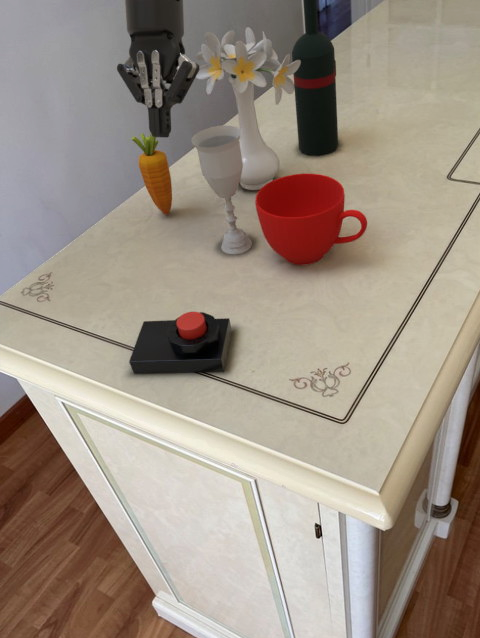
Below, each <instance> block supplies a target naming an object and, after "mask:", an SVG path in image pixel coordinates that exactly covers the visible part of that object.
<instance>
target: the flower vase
mask: <svg viewBox="0 0 480 638" xmlns="http://www.w3.org/2000/svg"><path fill="white" fill-rule="evenodd" d="M244 33H245V42H246V44H245V43H244V42H243V41H242V40H237V41H236V42H235V45H233V44H232V43H233V41H234V39H235V35H236V33H235V31H234V30H232V29H231V30H229V31H227V32H226V33H225V34H224V36H223V37H222V39H221V41H220V40H219V38H218V37H217V35H215V34H214V33H213V32H212V31H211V32H206V33H205V34H204V41H205V43H202V44H201V45H200V46H201V47H200V51H199V52H198V53H197V54H196V55H195V59H196V60H197V61H204V62H205V63H206V64H203V65H201V66H199V67H200V69H199V72H198V74H197V75H196V77H195V79H198V80H206V79H207V81H206V86H205V89H206V93H207V94H206V95H211V94H212V92H213V90H214V87H215V86H216V84H217V81H218V80H219V81H222V80H223V79H224V76H225V72H226V73H227V74H229V75H228V81H229V83H230V85H231V87H232V90H233V93H234V98H235V102H236V107H237V114H238V123H239V124H238V125H239V129H240V130H241V135H240V139H239V143H240V150H241V156H242V163H243V168H242V174H241V179H240V182H239V185H240V187H242V188H243V189H245V190H247V191H259V190H260V189H261V188H262V187H263V186H265V185H266V184H268V183H269V182H271V181H273V180H274V177H275V176H276V175H277V174H278V172H279V170H280V165H281V164H280V162H281V161H280V158H279V156H278V154H277V153H276V151H275V150H274V149H272V148H271V147H270V146H269V145H267V144H266V142H265V141H264V138H263V137H262V135H261V132H260V128H259V123H258V117H257V113H256V106H255V94H254V93H255V92H254V91H255V90H254V89H255V86H256V87H257V88H266V87H267V85H268V82H267V79H266V77H264V75H263V74H262V73H260V72H265V73H268V74H270V75H272V76H273V79H272V82H271V83H272V87H273V88H274V98H275V101H274V102H275V105H277V106H278V105H280V103H281V101H282V96H283V91H284V92H285V93H287V94H288V95H293V93H295V89H294V80H292V78H290V77H289V76H292V75H293V74H294V73H295V72H296V71H297V69H298V68H299V66H300V63H301V61H300V60H297V61H295V62H290V61H291V54H290V53H287V54H286V55H285V57H284V58H283V60H282V62H281V63H280V62H279V60H278V59H279V58H278V54H277V52H276V51H275V49H274V48H273V42H272V40H271V39H268V38H267V37H266V34H265V32H264V31H262V39H261V40H260V41H258V42H257V43H256V36H255V33H254V32H253V30H252V29H251V28H250V27H248V26H247V27H246V28H245V32H244ZM274 70H275V71H274Z"/></svg>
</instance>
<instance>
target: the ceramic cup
mask: <svg viewBox="0 0 480 638" xmlns="http://www.w3.org/2000/svg"><path fill="white" fill-rule="evenodd" d="M345 200H346V199H345V189H344V187H343V184H341V183H340V182H339V181H338V180H337V179H335V178H334V177H330V176H328V175H324V174H319V173H294V174H290V175H285V176H281V177H278V178H276V179H273V181H271V182H269V183H268V184H266V185H265V186H263V187H262V188H261V189H260V190H258V191H257V194H256V196H255V203H254V204H255V210H256V215H257V218H258V221H259V225H260V228H261V232H262V234H263V236H264V239H265V240H266V242H267V244H268V245H269V246H270V248H271V249H272V250H273V251H274V252H275V253H276V254H277V255H279V256H280V257H281V258H282V259H284V260H285V261H286V262H288V263H290V264H292V265H296V266H307V265H313V264H315V263H317V262H319V261H321V260H322V259H323V258H324V257H325V255H326V254H327V253H329V251H331V249H332V248H333V246H334V245H339V244H347V243H352V242H354V241H355V242H356V241H357V240H359V239H360V238H361V237H362V236H363V235H364V234H365V232H366V230H367V228H368V219H367V217H366V215H365V214H364V213H363V212H362V211H360V210H356V209H347V210H345ZM350 217H351V218H355V219H357V220H358V221H359V222H360V229H359V231H358V232H357V233H355V234H352V235H347V236H340V233H341V230H342V227H343V223H344V222H343V221H344V219H346V218H350Z"/></svg>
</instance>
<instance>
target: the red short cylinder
mask: <svg viewBox="0 0 480 638" xmlns="http://www.w3.org/2000/svg"><path fill="white" fill-rule="evenodd" d="M178 317H179V318H178ZM178 317H177V318H178V319H177V318H176V319H177V322H176V324H177V328H178V331H179V334H180V336H181V337H182V338H184V339H186V340H190V339H196V338H199V337H201V336H203V335H204V334H205V332H206V330H207V327H206V323H205V319H204V316H203V315H202V314H201V313H199V312H198V311H188V312H184V313H183V314H181V315H180V316H178Z"/></svg>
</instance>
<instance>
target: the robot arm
mask: <svg viewBox="0 0 480 638" xmlns="http://www.w3.org/2000/svg"><path fill="white" fill-rule="evenodd" d="M124 4H125V5H124V6H125V7H124V8H125V20H126V22H125V23H126V31H127V33H128V35H129V37H130V46H129V49H128V55H129V57H128V59H127V60H125V62H124V63H118V64H117V66H116V70H117V73H118V74H119V76H120V77H121V79H122V81H123V82H124V84H125V86H126V87H127V89H128V90H129V92H130V94H131V96H132V97H133V98H134V100H135V102H136V103H138V104H141V105H144V106H145V107H146V108H147V112H148V114H147V116H148V129H149V133H150V134H152V136H153V137H156V138H169V137H170V134H171V132H172V115H171V110H172V108H173V106H176V105H178V104H182V103H183V101H184V100H185V98H186V96H187V94H188V92H189V91H190V88H191V86H192V85H193V83H194V81H195V79H196V75H197V74H198V72H199V69H200V67H201V66H200V64H199V63H197V62H194V61H192V60H191V59H190V58H189V57H188V56H187V55H186V49H185V46H184V43H183V37H184V35H185V19H184V0H124Z"/></svg>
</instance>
